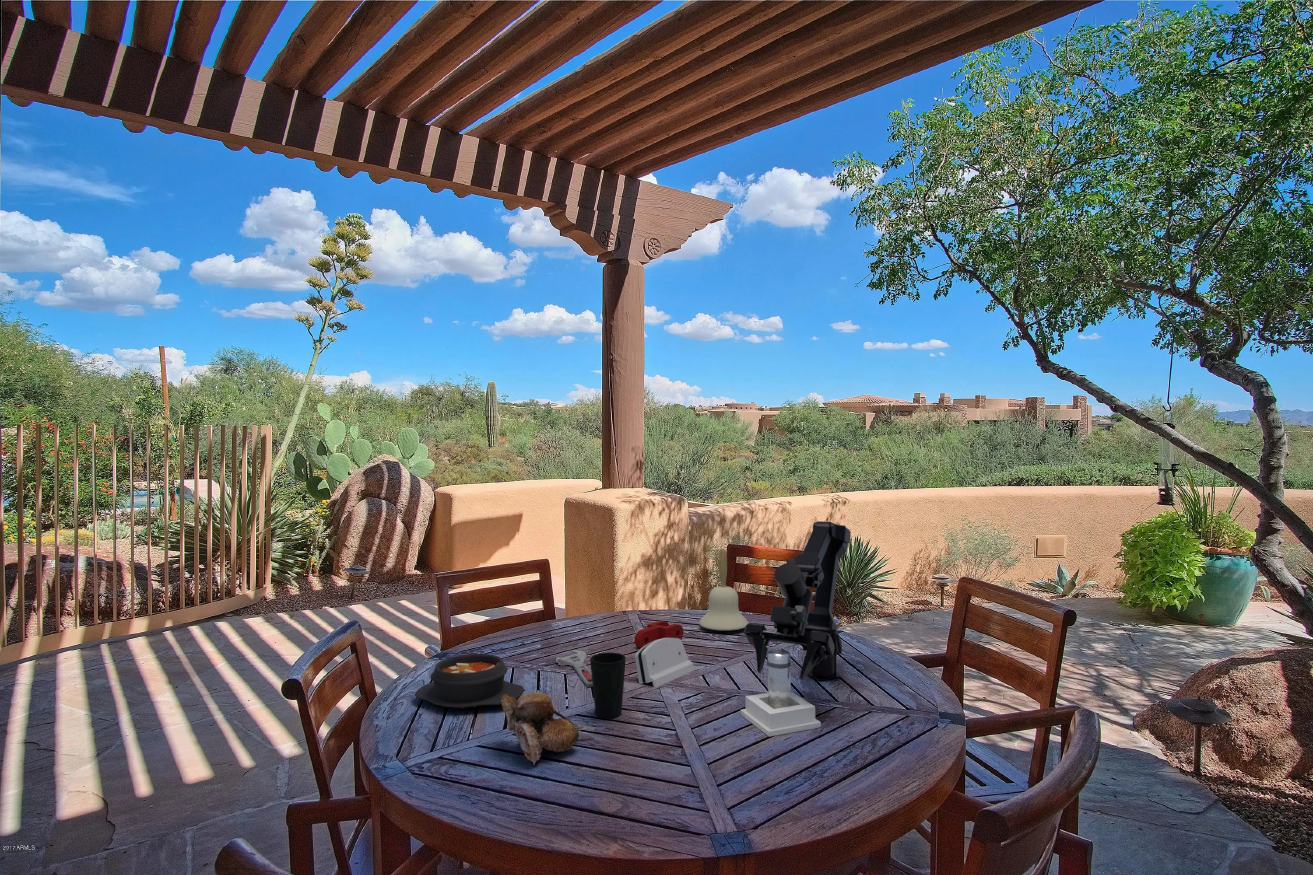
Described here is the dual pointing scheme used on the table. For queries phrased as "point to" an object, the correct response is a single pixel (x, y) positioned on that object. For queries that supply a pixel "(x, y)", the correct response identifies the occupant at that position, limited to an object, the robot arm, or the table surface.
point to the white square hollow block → (780, 715)
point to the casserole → (469, 682)
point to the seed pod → (539, 724)
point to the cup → (608, 683)
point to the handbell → (723, 604)
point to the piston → (779, 679)
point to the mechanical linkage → (658, 633)
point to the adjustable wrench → (578, 665)
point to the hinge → (662, 661)
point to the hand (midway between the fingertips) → (779, 675)
